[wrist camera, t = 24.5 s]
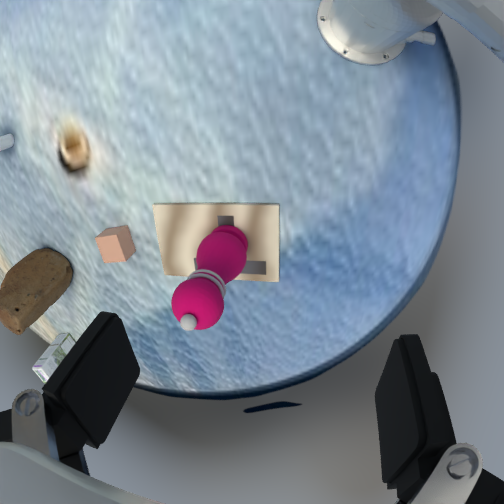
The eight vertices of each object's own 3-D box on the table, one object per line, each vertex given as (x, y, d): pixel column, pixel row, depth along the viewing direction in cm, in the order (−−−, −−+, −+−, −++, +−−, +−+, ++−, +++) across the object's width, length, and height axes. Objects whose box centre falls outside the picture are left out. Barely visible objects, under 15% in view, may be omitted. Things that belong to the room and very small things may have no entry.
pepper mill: (253, 262, 49) (225, 354, 32) (210, 263, 51) (164, 349, 33) (248, 220, 46) (212, 300, 29) (202, 222, 48) (145, 298, 30)
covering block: (127, 225, 51) (116, 234, 48) (136, 250, 53) (125, 261, 50) (106, 228, 52) (94, 237, 49) (115, 252, 54) (104, 263, 51)
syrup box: (58, 333, 71) (30, 368, 58) (69, 332, 69) (40, 368, 57) (70, 349, 73) (44, 384, 61) (81, 348, 72) (54, 385, 59)
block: (78, 265, 57) (18, 322, 40) (72, 287, 61) (20, 344, 44) (43, 238, 56) (-19, 286, 39) (40, 261, 60) (-16, 310, 42)
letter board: (279, 203, 45) (278, 205, 44) (279, 279, 51) (278, 282, 50) (154, 203, 48) (152, 205, 47) (166, 272, 54) (164, 274, 53)
